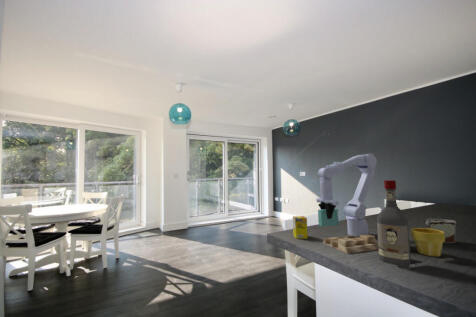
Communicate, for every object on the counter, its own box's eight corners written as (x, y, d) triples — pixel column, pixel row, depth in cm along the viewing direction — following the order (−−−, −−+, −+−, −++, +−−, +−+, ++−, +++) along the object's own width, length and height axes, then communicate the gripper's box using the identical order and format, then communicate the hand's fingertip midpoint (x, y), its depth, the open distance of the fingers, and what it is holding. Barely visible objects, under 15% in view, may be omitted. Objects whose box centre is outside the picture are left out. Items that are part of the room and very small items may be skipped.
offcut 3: (368, 244, 103) (367, 234, 103) (375, 247, 99) (375, 236, 99) (360, 245, 101) (359, 235, 102) (367, 248, 98) (367, 237, 98)
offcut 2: (358, 245, 101) (357, 237, 101) (365, 248, 97) (365, 240, 97) (348, 247, 100) (348, 238, 100) (356, 249, 96) (355, 241, 96)
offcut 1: (346, 247, 99) (346, 237, 100) (353, 250, 95) (353, 240, 96) (338, 248, 98) (337, 238, 98) (345, 251, 94) (344, 241, 94)
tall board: (335, 224, 119) (334, 208, 120) (338, 225, 117) (337, 209, 117) (318, 225, 116) (318, 209, 117) (321, 226, 114) (321, 210, 114)
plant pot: (410, 249, 98) (408, 226, 98) (441, 253, 93) (439, 228, 94) (415, 257, 88) (413, 232, 89) (450, 262, 84) (448, 234, 84)
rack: (353, 240, 112) (353, 234, 112) (382, 251, 97) (382, 243, 97) (322, 244, 107) (321, 238, 107) (347, 256, 91) (347, 248, 92)
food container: (447, 239, 112) (446, 218, 113) (458, 243, 106) (456, 221, 106) (420, 239, 113) (419, 218, 114) (429, 242, 107) (428, 221, 108)
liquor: (382, 256, 91) (377, 180, 93) (411, 261, 85) (405, 180, 87) (378, 263, 83) (373, 180, 86) (409, 269, 78) (403, 181, 80)
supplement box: (307, 240, 114) (307, 218, 115) (295, 240, 114) (295, 218, 115) (304, 237, 120) (303, 215, 121) (293, 237, 120) (292, 216, 121)
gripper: (311, 190, 123) (312, 216, 122) (329, 192, 110) (330, 221, 109) (322, 190, 125) (323, 215, 124) (341, 191, 112) (342, 220, 111)
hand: (327, 218), depth 117 cm, fingers closed on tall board, 2 cm apart
